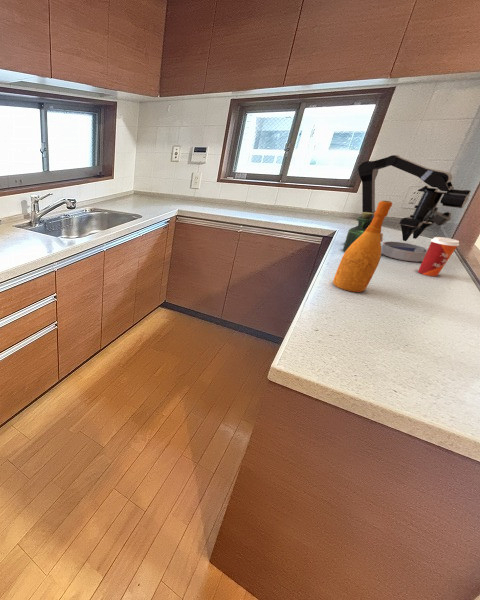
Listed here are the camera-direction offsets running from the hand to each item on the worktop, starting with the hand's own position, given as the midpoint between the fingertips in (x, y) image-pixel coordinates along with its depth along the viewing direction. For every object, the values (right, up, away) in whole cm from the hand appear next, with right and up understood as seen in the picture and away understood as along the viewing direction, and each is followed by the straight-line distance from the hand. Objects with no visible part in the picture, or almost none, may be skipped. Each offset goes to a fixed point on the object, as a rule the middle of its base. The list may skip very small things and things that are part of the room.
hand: (409, 239), depth 143 cm
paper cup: (-8, -16, -15) cm, 23 cm away
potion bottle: (-19, -4, +8) cm, 21 cm away
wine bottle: (-51, -22, -28) cm, 62 cm away
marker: (-2, -3, +7) cm, 8 cm away
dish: (0, -7, +4) cm, 8 cm away
